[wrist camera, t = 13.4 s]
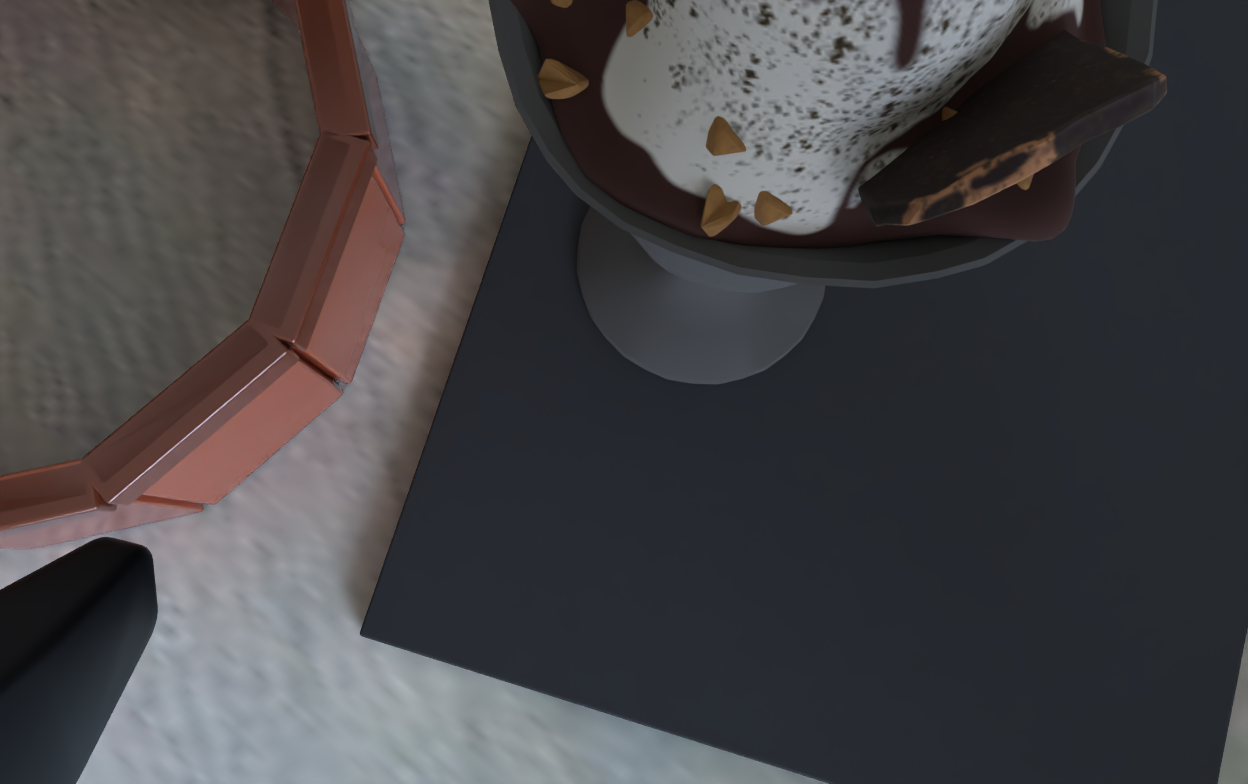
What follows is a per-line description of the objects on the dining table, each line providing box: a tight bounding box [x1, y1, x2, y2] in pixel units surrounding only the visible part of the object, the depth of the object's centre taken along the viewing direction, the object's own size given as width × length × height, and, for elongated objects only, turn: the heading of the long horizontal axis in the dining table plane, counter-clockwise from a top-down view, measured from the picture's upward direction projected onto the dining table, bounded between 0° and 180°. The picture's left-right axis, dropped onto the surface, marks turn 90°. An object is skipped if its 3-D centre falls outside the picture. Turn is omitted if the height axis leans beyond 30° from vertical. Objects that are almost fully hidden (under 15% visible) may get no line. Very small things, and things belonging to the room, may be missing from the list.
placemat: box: [360, 0, 1248, 784], centre depth 20 cm, size 20×16×1 cm
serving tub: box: [0, 0, 406, 549], centre depth 18 cm, size 13×13×4 cm
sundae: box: [489, 0, 1167, 385], centre depth 12 cm, size 7×7×15 cm
